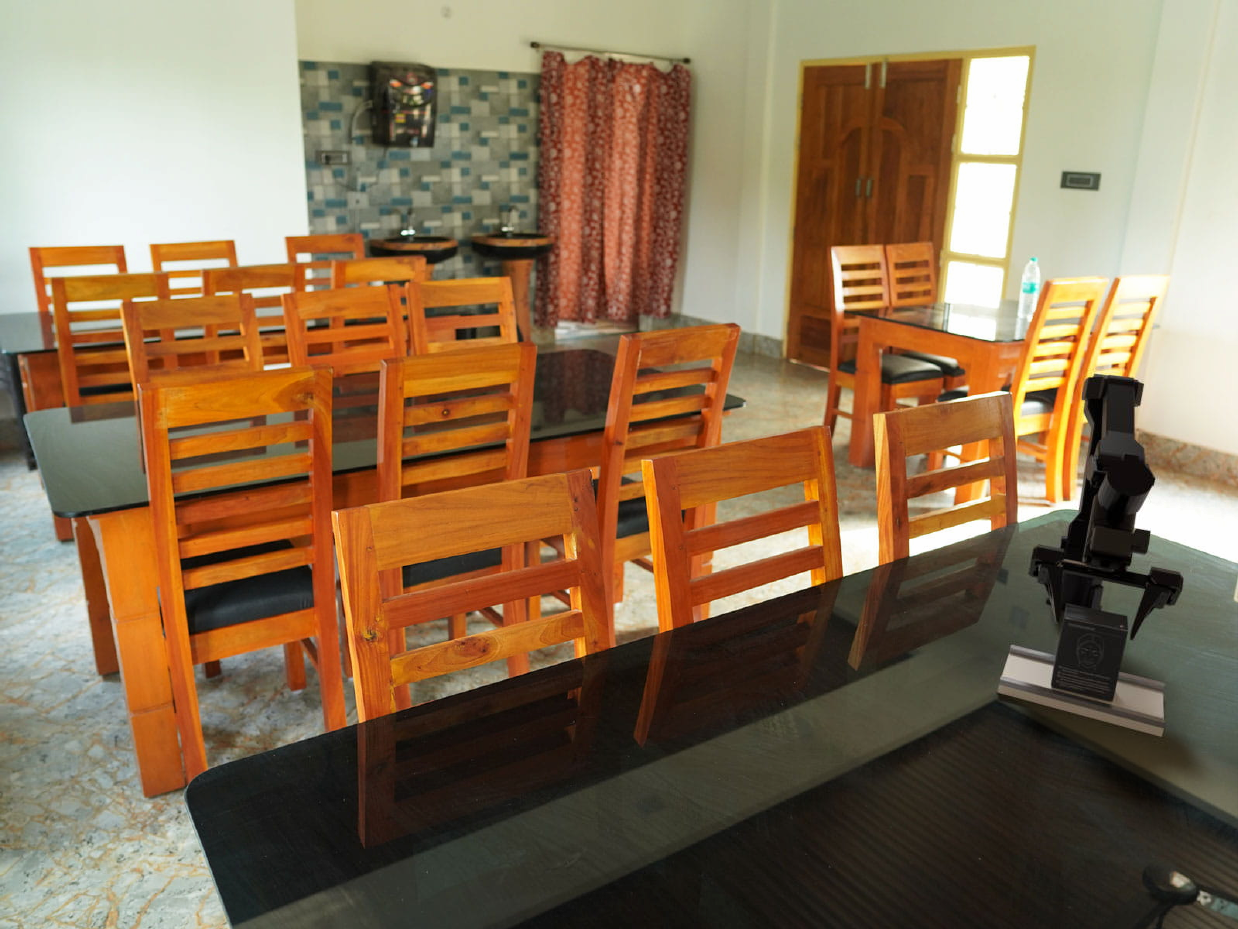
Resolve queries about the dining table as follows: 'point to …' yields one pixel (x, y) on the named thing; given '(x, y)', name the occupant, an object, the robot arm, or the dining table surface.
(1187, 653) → the dining table surface
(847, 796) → the dining table surface
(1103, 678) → the box
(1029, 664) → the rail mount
